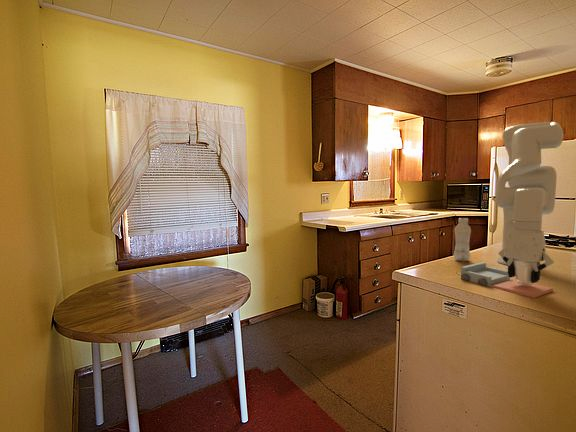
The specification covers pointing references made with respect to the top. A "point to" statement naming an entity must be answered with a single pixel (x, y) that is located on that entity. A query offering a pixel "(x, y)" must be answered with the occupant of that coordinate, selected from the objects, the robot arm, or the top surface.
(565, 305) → the top surface
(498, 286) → the plate
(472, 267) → the flatbed
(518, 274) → the cup
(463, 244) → the plastic bottle
